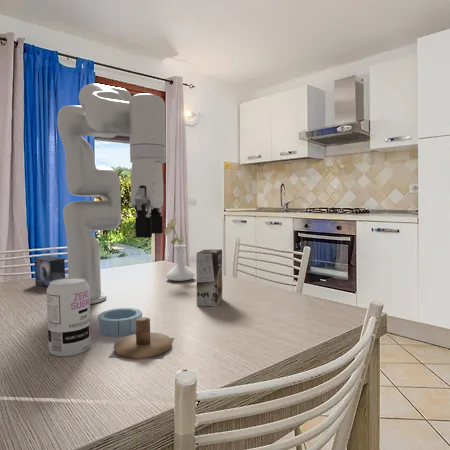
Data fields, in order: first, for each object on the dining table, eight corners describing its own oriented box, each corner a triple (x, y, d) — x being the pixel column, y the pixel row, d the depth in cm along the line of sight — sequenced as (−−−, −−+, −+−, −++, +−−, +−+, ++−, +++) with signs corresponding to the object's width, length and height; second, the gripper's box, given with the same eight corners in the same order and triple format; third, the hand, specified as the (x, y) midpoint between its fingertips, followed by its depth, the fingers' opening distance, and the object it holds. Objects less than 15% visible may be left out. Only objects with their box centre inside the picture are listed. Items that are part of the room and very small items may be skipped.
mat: (108, 359, 75) (108, 357, 75) (127, 338, 86) (127, 337, 86) (162, 360, 74) (162, 358, 74) (174, 339, 85) (174, 338, 85)
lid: (105, 358, 74) (104, 328, 74) (125, 336, 86) (125, 310, 86) (164, 359, 73) (163, 329, 73) (176, 337, 85) (176, 311, 85)
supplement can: (57, 344, 83) (54, 277, 82) (95, 342, 83) (93, 276, 82) (42, 359, 75) (39, 285, 74) (84, 358, 75) (82, 284, 74)
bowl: (91, 337, 87) (91, 320, 87) (108, 322, 97) (108, 307, 97) (134, 338, 86) (133, 321, 86) (146, 323, 96) (146, 308, 96)
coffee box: (216, 307, 111) (216, 253, 110) (196, 305, 112) (195, 252, 111) (223, 299, 120) (222, 249, 119) (203, 298, 121) (203, 248, 120)
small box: (34, 285, 141) (33, 257, 140) (50, 282, 146) (49, 255, 146) (50, 288, 135) (49, 260, 134) (66, 285, 140) (65, 257, 140)
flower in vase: (179, 275, 157) (178, 216, 155) (200, 279, 150) (200, 217, 148) (156, 281, 146) (155, 217, 144) (178, 285, 139) (177, 218, 138)
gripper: (142, 160, 88) (144, 232, 89) (116, 150, 71) (119, 239, 72) (173, 159, 88) (175, 232, 89) (155, 149, 71) (157, 239, 72)
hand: (150, 235), depth 81 cm, fingers open, 9 cm apart
